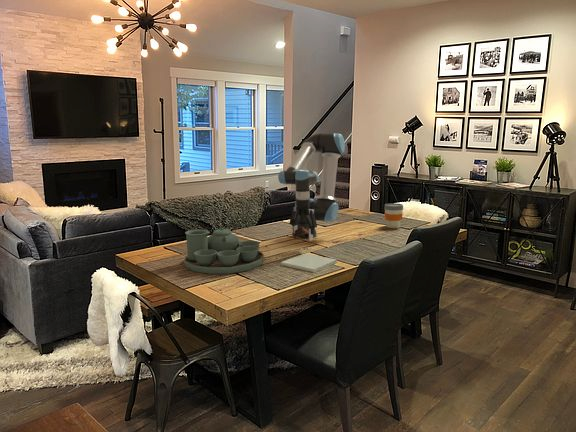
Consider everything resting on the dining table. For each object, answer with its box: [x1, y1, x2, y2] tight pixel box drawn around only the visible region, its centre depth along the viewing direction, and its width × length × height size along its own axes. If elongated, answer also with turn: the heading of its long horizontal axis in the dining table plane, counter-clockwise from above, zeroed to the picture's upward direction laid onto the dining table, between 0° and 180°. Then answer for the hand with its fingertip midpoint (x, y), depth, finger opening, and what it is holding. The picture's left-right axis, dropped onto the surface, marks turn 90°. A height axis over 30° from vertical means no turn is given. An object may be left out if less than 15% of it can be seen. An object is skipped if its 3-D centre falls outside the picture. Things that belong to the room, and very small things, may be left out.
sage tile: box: [280, 253, 338, 273], centre depth 231 cm, size 20×20×2 cm
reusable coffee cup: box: [383, 202, 404, 229], centre depth 313 cm, size 13×12×15 cm
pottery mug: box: [292, 227, 311, 243], centre depth 255 cm, size 12×10×8 cm
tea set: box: [183, 227, 265, 275], centre depth 234 cm, size 40×40×16 cm
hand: (303, 238), depth 255 cm, fingers closed on pottery mug, 10 cm apart
